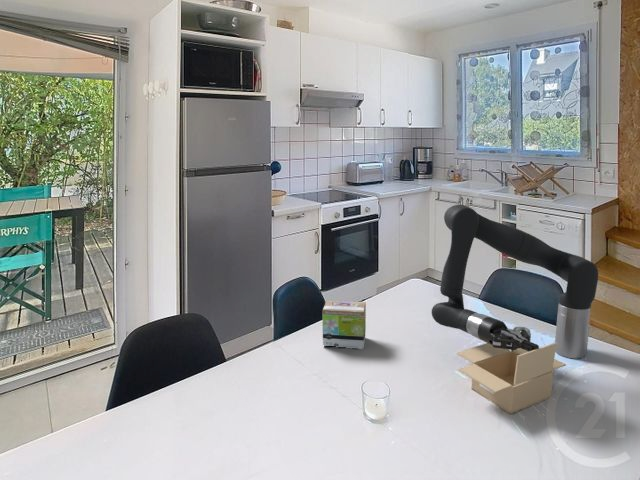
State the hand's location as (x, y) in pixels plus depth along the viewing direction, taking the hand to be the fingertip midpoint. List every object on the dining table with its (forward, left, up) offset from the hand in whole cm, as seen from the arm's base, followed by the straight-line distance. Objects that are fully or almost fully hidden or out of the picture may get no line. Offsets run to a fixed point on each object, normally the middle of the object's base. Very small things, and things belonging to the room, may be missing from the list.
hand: (536, 349), depth 115 cm
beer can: (-16, -17, -17) cm, 29 cm away
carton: (0, -11, -17) cm, 20 cm away
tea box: (+25, -59, -17) cm, 66 cm away
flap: (0, 0, -9) cm, 9 cm away
